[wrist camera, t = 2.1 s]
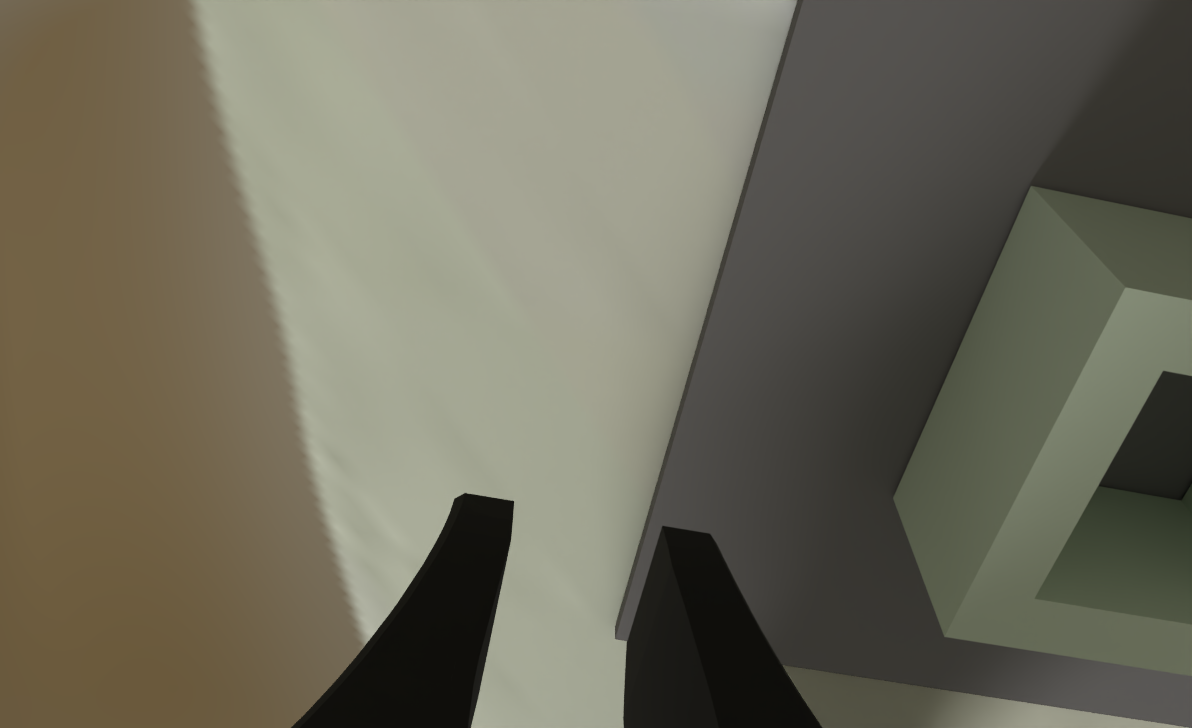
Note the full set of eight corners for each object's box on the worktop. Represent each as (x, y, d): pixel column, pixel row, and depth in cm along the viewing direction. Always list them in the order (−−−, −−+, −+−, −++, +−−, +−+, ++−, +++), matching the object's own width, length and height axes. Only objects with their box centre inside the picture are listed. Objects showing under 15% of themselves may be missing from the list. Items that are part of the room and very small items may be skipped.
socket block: (1206, 551, 23) (1310, 694, 20) (893, 498, 22) (943, 636, 19) (1397, 260, 19) (1566, 373, 16) (1030, 185, 19) (1125, 287, 15)
